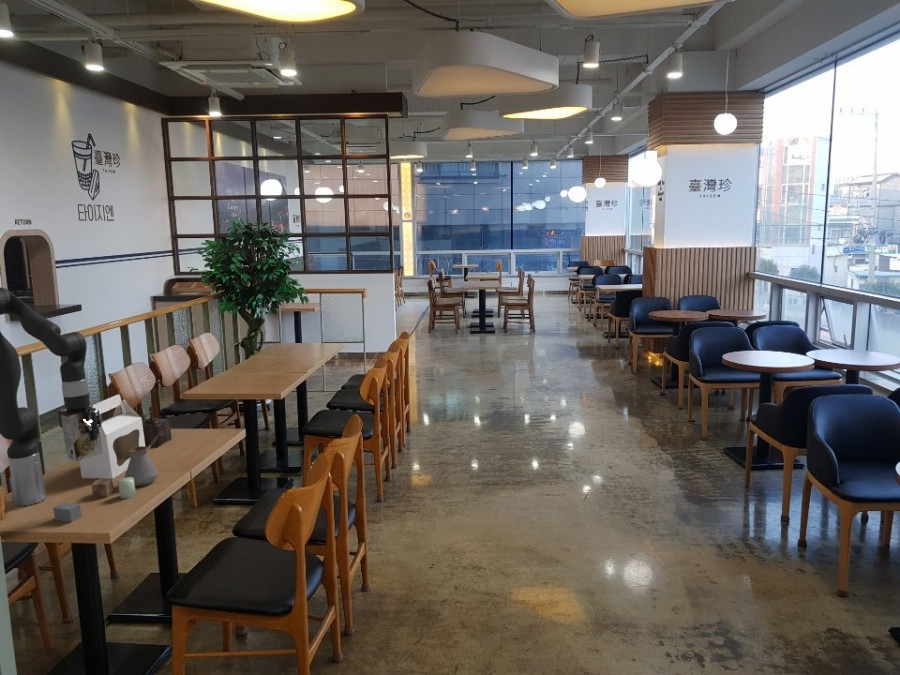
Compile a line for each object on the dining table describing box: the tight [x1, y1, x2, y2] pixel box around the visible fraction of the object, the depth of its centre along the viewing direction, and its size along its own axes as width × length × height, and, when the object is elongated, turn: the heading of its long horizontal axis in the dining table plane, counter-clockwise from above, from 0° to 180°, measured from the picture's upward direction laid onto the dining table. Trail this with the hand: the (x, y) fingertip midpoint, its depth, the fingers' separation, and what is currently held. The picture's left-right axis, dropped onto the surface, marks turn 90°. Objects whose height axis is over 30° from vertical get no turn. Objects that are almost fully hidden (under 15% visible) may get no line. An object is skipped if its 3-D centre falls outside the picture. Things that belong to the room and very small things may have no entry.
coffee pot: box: [124, 431, 165, 487], centre depth 258 cm, size 21×12×15 cm, turn 170°
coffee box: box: [60, 406, 103, 462], centre depth 229 cm, size 9×6×16 cm
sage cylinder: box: [117, 477, 137, 500], centre depth 242 cm, size 5×5×6 cm
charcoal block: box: [52, 502, 83, 523], centre depth 226 cm, size 7×4×4 cm, turn 72°
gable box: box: [78, 394, 145, 480], centre depth 268 cm, size 22×13×28 cm, turn 170°
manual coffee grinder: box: [133, 406, 173, 448], centre depth 295 cm, size 16×11×18 cm
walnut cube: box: [90, 478, 115, 499], centre depth 244 cm, size 5×5×5 cm
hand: (82, 440), depth 230 cm, fingers closed on coffee box, 8 cm apart
